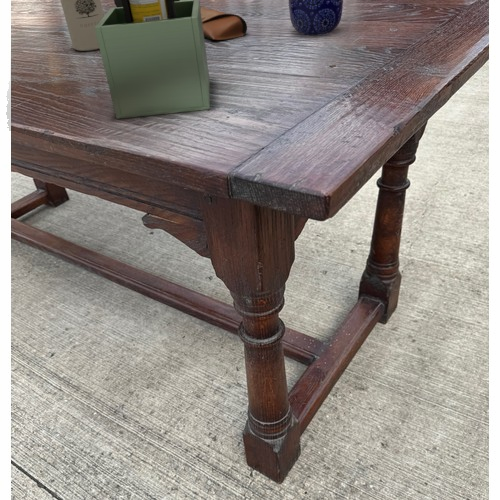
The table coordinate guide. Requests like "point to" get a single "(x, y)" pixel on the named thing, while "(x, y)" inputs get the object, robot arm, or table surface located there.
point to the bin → (155, 62)
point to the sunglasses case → (222, 25)
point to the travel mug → (83, 22)
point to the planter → (315, 15)
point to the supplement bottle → (148, 10)
